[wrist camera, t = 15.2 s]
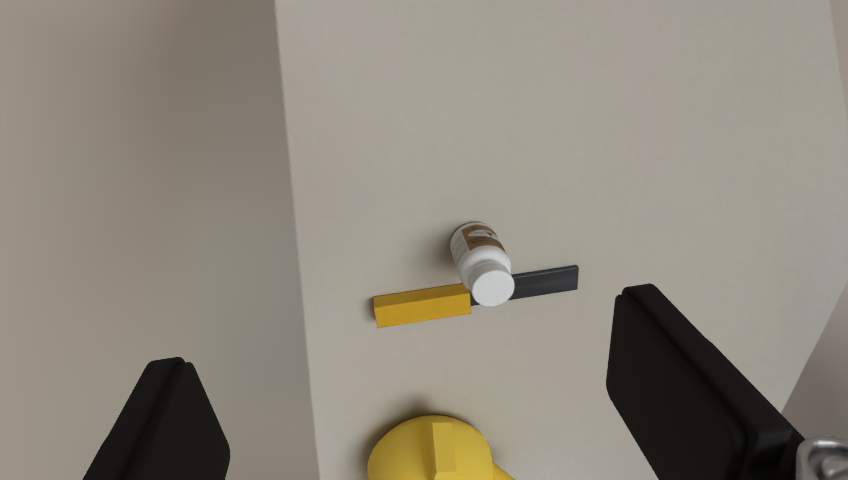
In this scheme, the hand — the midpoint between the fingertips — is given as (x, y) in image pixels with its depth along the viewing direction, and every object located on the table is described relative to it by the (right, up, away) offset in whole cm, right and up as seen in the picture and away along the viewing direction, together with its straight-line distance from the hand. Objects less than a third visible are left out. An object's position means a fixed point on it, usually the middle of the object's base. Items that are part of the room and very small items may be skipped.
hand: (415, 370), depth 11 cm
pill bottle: (+5, +3, +34) cm, 34 cm away
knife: (+5, -2, +37) cm, 37 cm away
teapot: (+3, -22, +47) cm, 52 cm away
